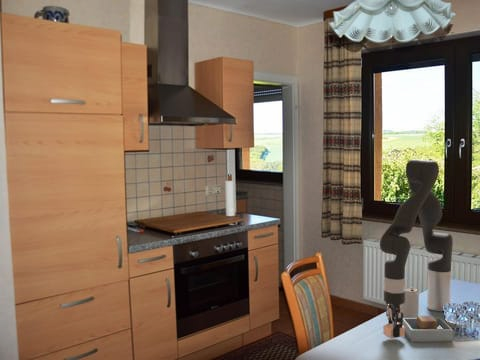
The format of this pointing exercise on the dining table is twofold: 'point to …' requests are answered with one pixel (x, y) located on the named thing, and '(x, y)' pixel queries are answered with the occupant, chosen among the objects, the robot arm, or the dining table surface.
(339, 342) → the dining table surface
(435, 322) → the block
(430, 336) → the tote
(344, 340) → the dining table surface
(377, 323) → the dining table surface
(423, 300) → the dining table surface
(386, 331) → the light box
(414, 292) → the can
